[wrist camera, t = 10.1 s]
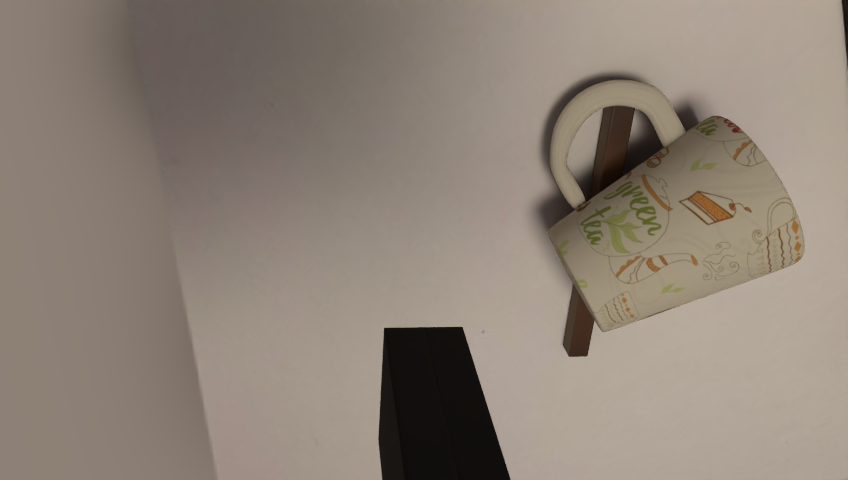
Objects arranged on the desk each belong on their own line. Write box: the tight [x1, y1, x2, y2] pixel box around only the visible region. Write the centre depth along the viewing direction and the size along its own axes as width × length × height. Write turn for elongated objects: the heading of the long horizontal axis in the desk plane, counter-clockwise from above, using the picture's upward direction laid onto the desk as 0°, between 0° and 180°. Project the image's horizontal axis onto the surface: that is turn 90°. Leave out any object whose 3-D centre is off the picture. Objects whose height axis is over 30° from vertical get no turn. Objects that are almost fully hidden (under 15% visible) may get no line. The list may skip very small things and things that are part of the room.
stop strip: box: [563, 105, 635, 357], centre depth 40 cm, size 16×1×1 cm, turn 176°
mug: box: [547, 80, 805, 332], centre depth 36 cm, size 8×13×10 cm
